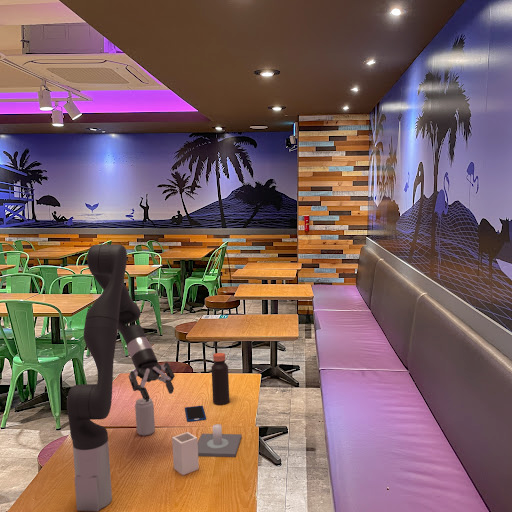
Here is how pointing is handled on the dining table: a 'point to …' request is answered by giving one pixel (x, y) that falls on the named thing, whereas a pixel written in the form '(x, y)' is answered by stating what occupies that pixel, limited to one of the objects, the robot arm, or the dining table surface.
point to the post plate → (220, 451)
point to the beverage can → (144, 417)
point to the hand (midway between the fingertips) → (160, 396)
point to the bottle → (220, 380)
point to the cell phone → (195, 413)
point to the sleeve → (185, 453)
